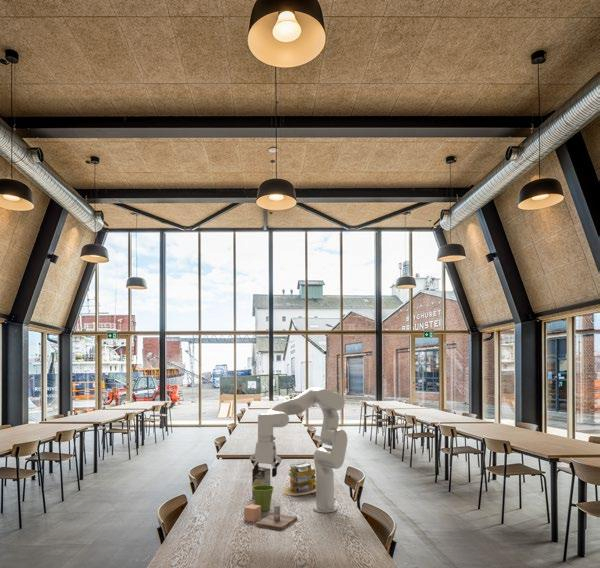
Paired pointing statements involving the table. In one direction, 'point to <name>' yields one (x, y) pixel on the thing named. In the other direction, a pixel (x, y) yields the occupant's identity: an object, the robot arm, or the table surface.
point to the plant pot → (263, 496)
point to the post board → (276, 520)
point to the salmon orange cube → (252, 512)
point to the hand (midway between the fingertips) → (265, 475)
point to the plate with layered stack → (301, 479)
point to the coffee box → (260, 478)
